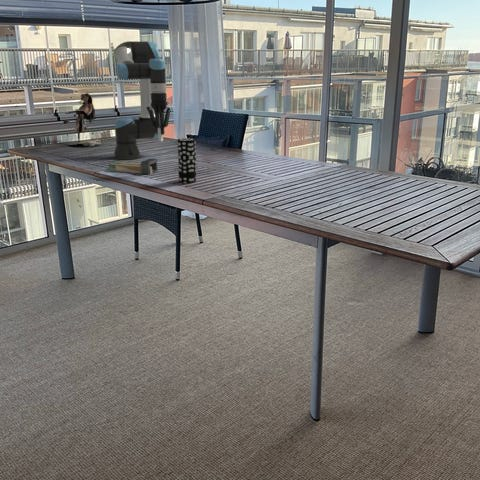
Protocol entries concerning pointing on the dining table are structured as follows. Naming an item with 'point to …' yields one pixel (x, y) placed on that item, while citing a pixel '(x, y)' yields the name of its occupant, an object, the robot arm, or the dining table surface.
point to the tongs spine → (127, 168)
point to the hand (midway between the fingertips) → (160, 141)
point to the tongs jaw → (127, 163)
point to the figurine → (86, 113)
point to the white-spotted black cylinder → (187, 160)
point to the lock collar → (146, 164)
